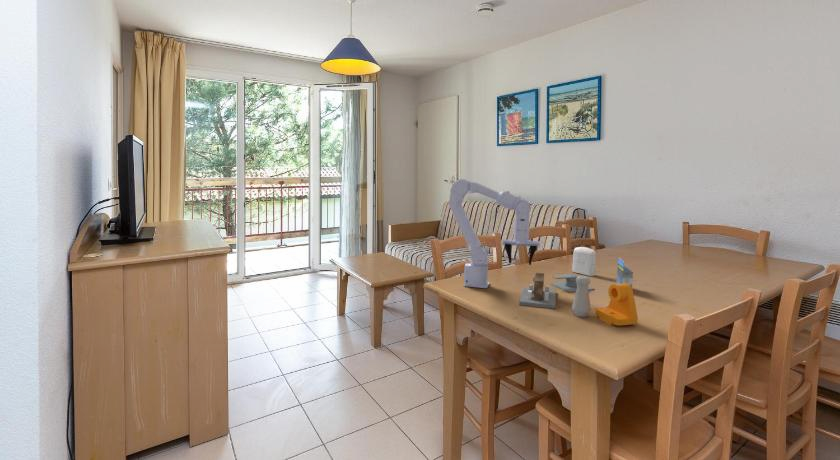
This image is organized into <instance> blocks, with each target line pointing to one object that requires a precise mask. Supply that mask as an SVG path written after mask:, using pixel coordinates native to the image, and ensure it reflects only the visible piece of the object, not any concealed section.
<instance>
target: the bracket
mask: <svg viewBox="0 0 840 460" xmlns="http://www.w3.org/2000/svg"><path fill="white" fill-rule="evenodd" d="M608 296H609V298H610V301H609V303H608V306H607V307H597V308H595V315H596V316H598V318H599V320H601V321H603V322H605V323H606V324H608V325H610V326H629V325H638V322H639V319H638V318H639V317H638V312H637V306H636V301H635V300H636V299H635V295H634V290H633V286H632V287H631V286H630V285H629V284H627V283H624V284H617V283H612V284H611V285H609V287H608Z"/></svg>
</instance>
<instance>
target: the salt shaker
mask: <svg viewBox="0 0 840 460" xmlns="http://www.w3.org/2000/svg"><path fill="white" fill-rule="evenodd" d="M577 276H578V277H577V278H576V283H577V284H578V286H577V290H576V292H574V293H575V294H574V298H573V302H572V305H571V311H572V312H573V315H574V316H576V317H577V318H587V317H589V315H590V313H591V303H590V302H591V301H590V299H591V298H590V290H588V286H589V285H590V284H591V278H590V276H588V275H577Z"/></svg>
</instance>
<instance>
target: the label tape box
mask: <svg viewBox="0 0 840 460" xmlns="http://www.w3.org/2000/svg"><path fill="white" fill-rule="evenodd" d="M616 273H617V274H616V284H624V283H627V284H629V285H630V286H631V287H632V288H633V281H634V280H633V278H634V277H633V276H634V272H633V271H632V270H631V269H629V268H628V267H627V266H625V261H624V260H622V258H621V257H618V260H617V271H616Z"/></svg>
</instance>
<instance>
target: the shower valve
mask: <svg viewBox="0 0 840 460" xmlns="http://www.w3.org/2000/svg"><path fill="white" fill-rule="evenodd" d="M578 276H579V275H576V274H573V273H572V274H571V273H569V274H559V275H554V276H552V278H554V279H556V280H562V279H564V280H565V281H557V282H551V283H550V286H552V287H555V288H557V289H560V290H563V291H565V292H568V293H576V290H577V286H578V284H577V283H576V278H577V277H578ZM588 290H589V291H593V290H595V288H594V287H592V286H589V285H588Z"/></svg>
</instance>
